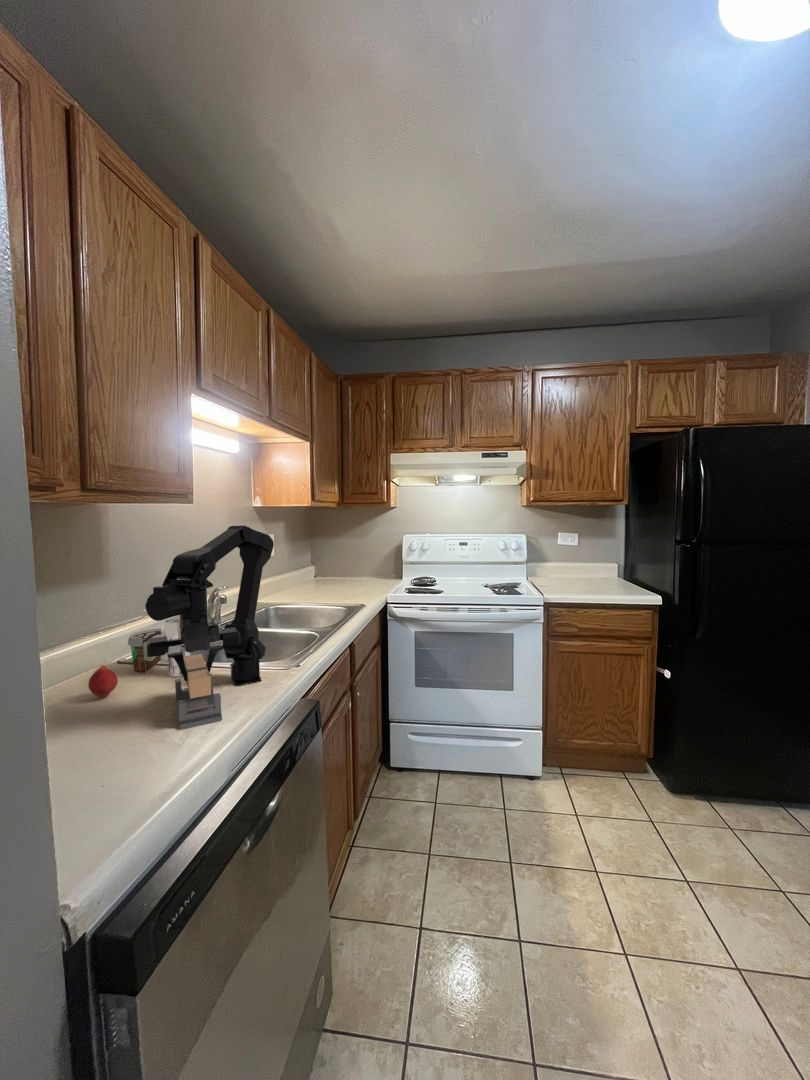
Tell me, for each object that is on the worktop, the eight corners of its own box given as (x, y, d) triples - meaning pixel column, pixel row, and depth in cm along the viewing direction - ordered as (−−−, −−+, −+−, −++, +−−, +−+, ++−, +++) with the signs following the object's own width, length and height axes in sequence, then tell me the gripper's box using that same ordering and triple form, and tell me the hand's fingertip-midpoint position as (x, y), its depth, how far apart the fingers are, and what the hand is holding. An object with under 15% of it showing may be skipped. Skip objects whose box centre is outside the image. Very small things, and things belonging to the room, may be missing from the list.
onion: (101, 703, 106) (99, 670, 106) (83, 700, 108) (81, 667, 108) (123, 694, 112) (122, 662, 111) (106, 691, 114) (104, 660, 113)
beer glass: (162, 679, 122) (160, 623, 121) (169, 670, 129) (166, 618, 128) (191, 676, 124) (189, 621, 123) (195, 668, 131) (193, 616, 130)
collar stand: (211, 692, 113) (210, 672, 112) (222, 720, 97) (221, 697, 97) (175, 698, 109) (174, 678, 108) (180, 729, 93) (179, 705, 93)
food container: (142, 661, 137) (140, 628, 137) (163, 660, 138) (162, 627, 137) (119, 675, 125) (118, 639, 124) (143, 675, 125) (141, 639, 125)
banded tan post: (202, 670, 111) (202, 653, 111) (211, 694, 96) (211, 675, 96) (183, 673, 109) (182, 656, 109) (189, 699, 94) (188, 679, 93)
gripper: (145, 623, 90) (149, 700, 91) (244, 612, 99) (246, 682, 100) (145, 612, 100) (149, 682, 101) (235, 603, 109) (237, 667, 110)
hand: (196, 678), depth 103 cm, fingers closed on banded tan post, 4 cm apart
